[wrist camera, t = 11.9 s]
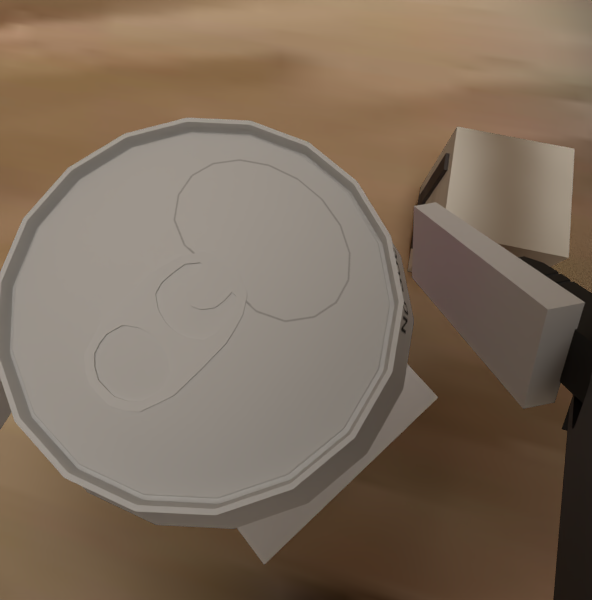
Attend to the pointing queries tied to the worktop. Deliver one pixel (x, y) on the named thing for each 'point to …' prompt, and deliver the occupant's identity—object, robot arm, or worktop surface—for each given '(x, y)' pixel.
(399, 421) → the grey board
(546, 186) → the letter block
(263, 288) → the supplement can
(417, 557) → the worktop surface
